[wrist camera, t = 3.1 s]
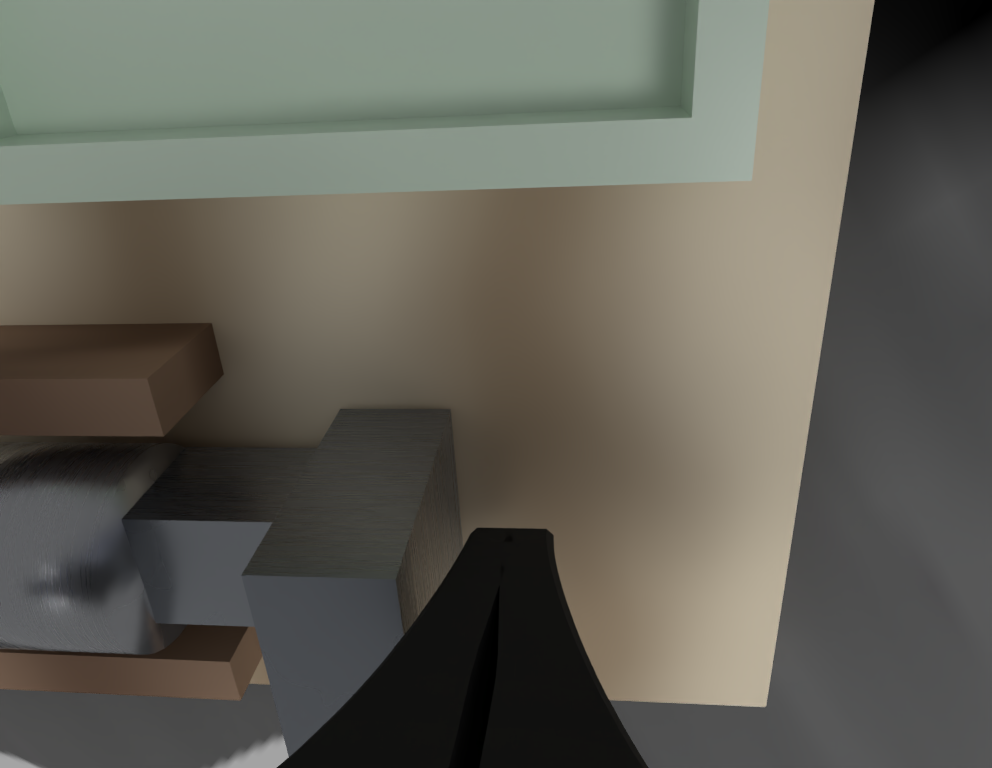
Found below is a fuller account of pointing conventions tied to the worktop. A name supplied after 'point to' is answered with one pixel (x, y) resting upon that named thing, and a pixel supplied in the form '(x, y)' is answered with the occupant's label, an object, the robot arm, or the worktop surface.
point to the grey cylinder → (76, 547)
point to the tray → (372, 96)
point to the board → (532, 352)
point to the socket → (118, 412)
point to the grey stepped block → (307, 549)
